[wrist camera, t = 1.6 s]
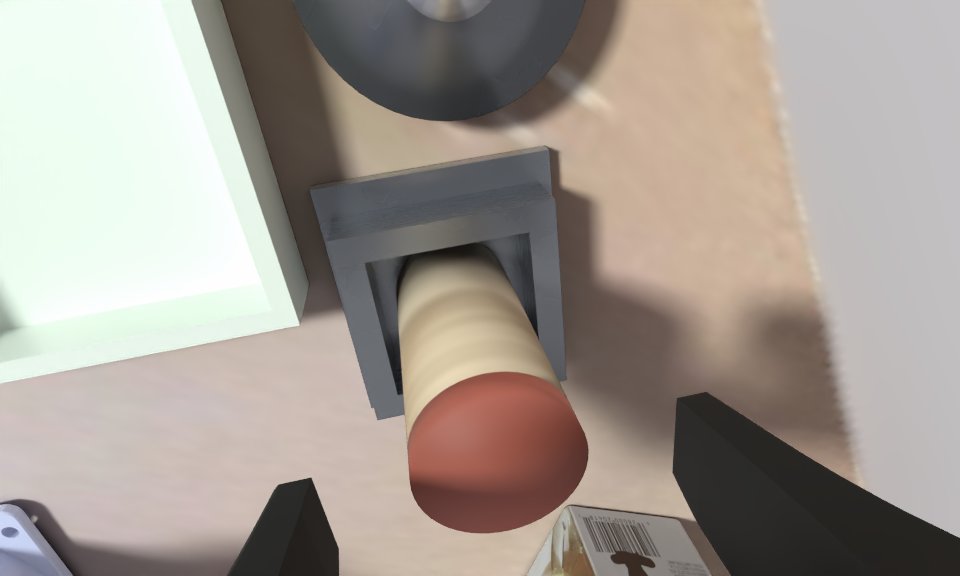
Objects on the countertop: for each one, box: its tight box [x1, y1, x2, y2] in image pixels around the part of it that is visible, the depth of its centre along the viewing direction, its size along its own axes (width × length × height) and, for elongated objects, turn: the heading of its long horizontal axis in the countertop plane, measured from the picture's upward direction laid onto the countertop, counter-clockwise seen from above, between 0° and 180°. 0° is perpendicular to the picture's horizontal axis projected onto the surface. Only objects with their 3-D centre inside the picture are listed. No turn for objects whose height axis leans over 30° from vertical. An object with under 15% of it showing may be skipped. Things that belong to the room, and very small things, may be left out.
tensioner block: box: [310, 146, 567, 420], centre depth 17 cm, size 8×7×2 cm
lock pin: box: [396, 242, 588, 533], centre depth 14 cm, size 4×4×8 cm
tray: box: [0, 0, 309, 383], centre depth 13 cm, size 10×10×2 cm
